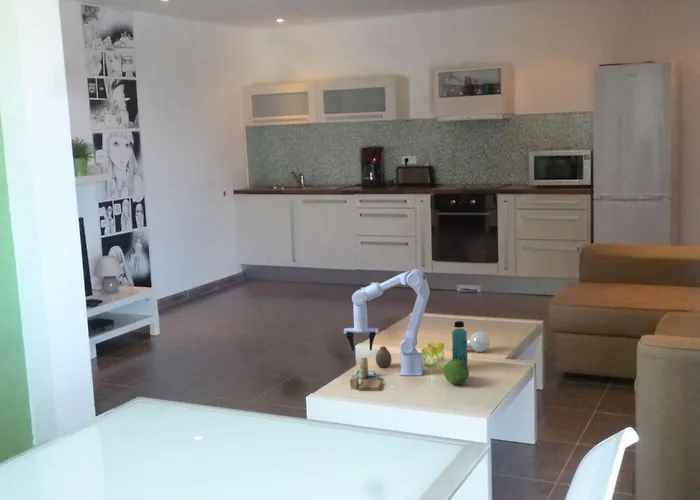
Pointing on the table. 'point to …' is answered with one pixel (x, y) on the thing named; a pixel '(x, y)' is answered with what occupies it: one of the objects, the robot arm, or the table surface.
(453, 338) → the beverage bottle
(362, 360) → the dowel
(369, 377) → the collar
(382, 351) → the vase
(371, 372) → the tray
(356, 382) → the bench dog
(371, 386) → the board
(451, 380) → the fruit
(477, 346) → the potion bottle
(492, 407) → the table surface
